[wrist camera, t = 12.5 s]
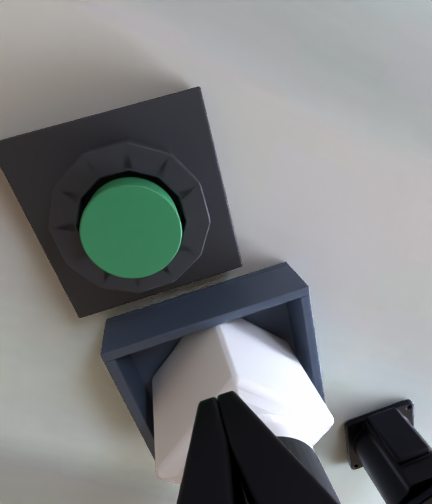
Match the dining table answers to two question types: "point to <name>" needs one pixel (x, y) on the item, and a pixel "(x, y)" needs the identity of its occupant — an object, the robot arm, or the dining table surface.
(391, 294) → the dining table surface
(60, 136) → the control panel
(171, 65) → the dining table surface
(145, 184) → the button
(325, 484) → the medicine bottle
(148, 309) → the blue-grey tray
